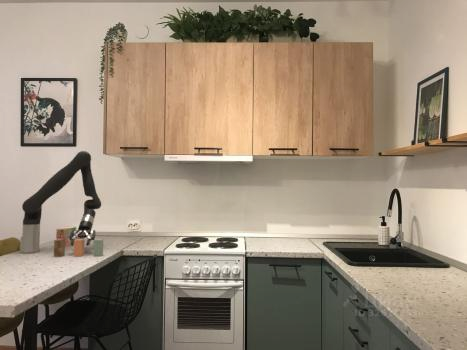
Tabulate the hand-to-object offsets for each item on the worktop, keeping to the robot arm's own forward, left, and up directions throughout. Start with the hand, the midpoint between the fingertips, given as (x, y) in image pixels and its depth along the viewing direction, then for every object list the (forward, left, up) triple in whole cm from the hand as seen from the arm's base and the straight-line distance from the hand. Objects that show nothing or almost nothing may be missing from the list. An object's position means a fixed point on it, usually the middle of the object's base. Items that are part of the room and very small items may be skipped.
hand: (79, 245), depth 190 cm
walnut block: (-11, 0, -6) cm, 13 cm away
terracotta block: (0, 0, -6) cm, 6 cm away
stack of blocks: (-19, +39, -6) cm, 44 cm away
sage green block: (+11, 0, -6) cm, 12 cm away
